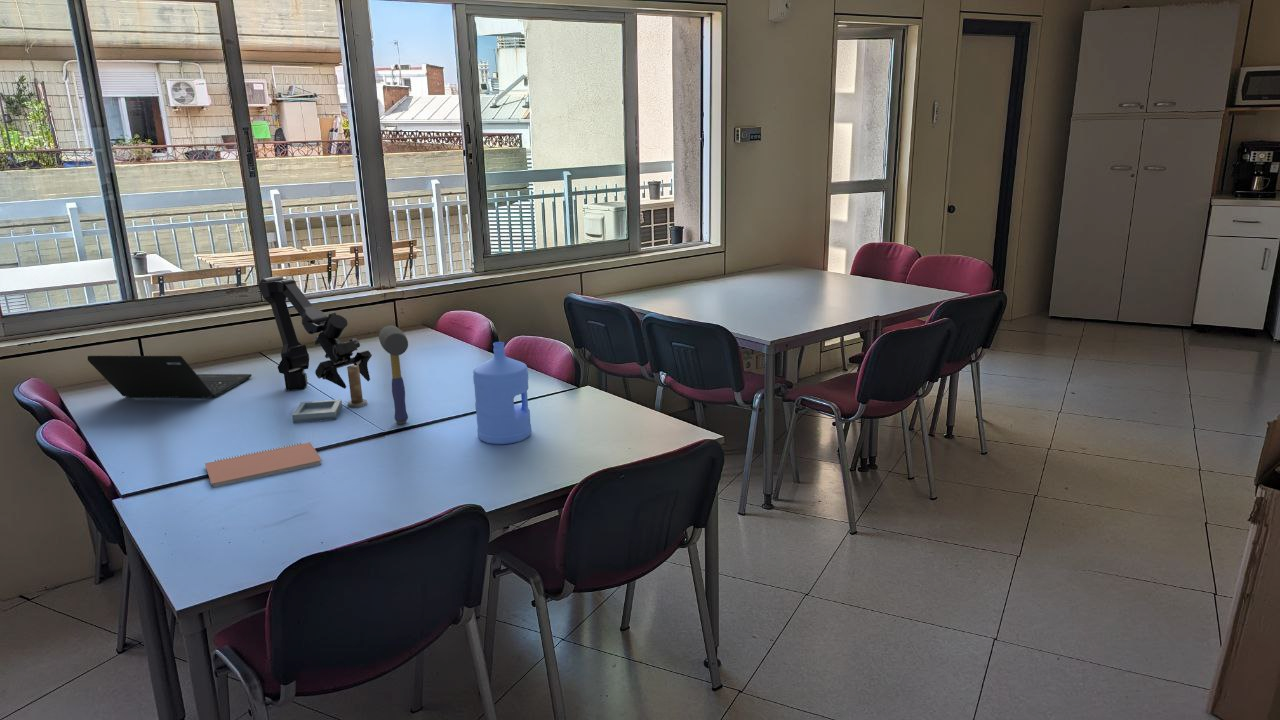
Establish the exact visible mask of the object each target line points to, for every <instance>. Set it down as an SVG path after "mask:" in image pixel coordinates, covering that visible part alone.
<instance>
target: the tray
mask: <svg viewBox="0 0 1280 720" xmlns="http://www.w3.org/2000/svg"><path fill="white" fill-rule="evenodd" d="M342 401H343V400H342V398H340V399H339V398H338V399H325V400H324V399H323V400H312V401H300V403H299V404H298V405H297V407H296V408H295V410H294V411H293V413H292V421H293V423H294V424H295V423H307V422H319V421H320V420H322V421H331V420H332V419H335V420H337V418H338V415H340V411H341V410H342V408H343V402H342ZM332 421H333V420H332Z"/></svg>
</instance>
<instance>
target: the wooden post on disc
mask: <svg viewBox="0 0 1280 720" xmlns="http://www.w3.org/2000/svg"><path fill="white" fill-rule="evenodd" d="M346 368H347V375H348V376H347V377H348V384H349V393H350V400H349V401H348V402H347V406H348V408H353V409H355V408H356V409H357V408H363V407H365V406H367V405H368V399H365V398H363V391H362V390H363V389H362V383H361V382H362V381H361V374H360V371H359V366H358V365H354V364H351V365H347V366H346Z"/></svg>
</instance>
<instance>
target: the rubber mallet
mask: <svg viewBox="0 0 1280 720" xmlns="http://www.w3.org/2000/svg"><path fill="white" fill-rule="evenodd" d="M378 339H379V340H378V341H379V343H380V345H381V347H382V349H383V350H384V351H385V352H386V353H387V354H389V355H390V365H391V375H392V379H391V393H392V398H393V404H394V417H393V418H394V420H395V422H396V423H397V424H399V425H401V424H406V423H407V421H408V419H409V416H408V412H407V407H406V406H407V405H406V389H405V383H404V378H403V377H402V372H401V371H402V370H401V363H400V356H401V355H403V354H404V353H406V352H407V350H408V347H409V341H408V338H407V337H406V333H404V331H403V330H402V329H400V327H397V326H396V325H390V324H389V325H386V326H384V327H382V328H381V329H380V330H379V333H378Z"/></svg>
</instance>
